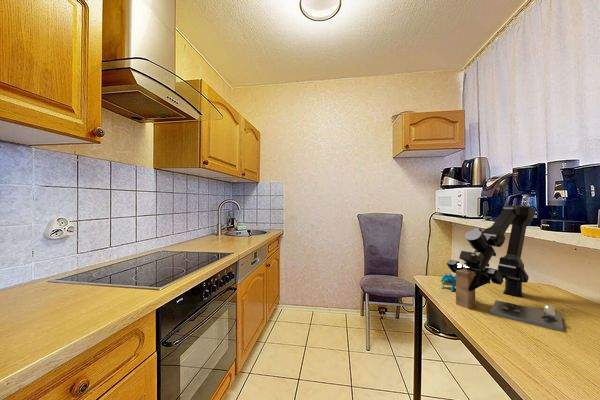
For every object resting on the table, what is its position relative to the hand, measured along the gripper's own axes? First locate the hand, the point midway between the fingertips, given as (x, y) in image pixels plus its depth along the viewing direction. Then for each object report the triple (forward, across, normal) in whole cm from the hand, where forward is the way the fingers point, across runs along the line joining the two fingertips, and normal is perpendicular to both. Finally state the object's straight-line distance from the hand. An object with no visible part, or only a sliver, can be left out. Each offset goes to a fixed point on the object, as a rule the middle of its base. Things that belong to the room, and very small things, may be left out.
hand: (463, 288), depth 98 cm
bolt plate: (-4, +14, +13) cm, 20 cm away
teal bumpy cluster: (-5, -14, +15) cm, 21 cm away
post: (+4, 0, +6) cm, 7 cm away
